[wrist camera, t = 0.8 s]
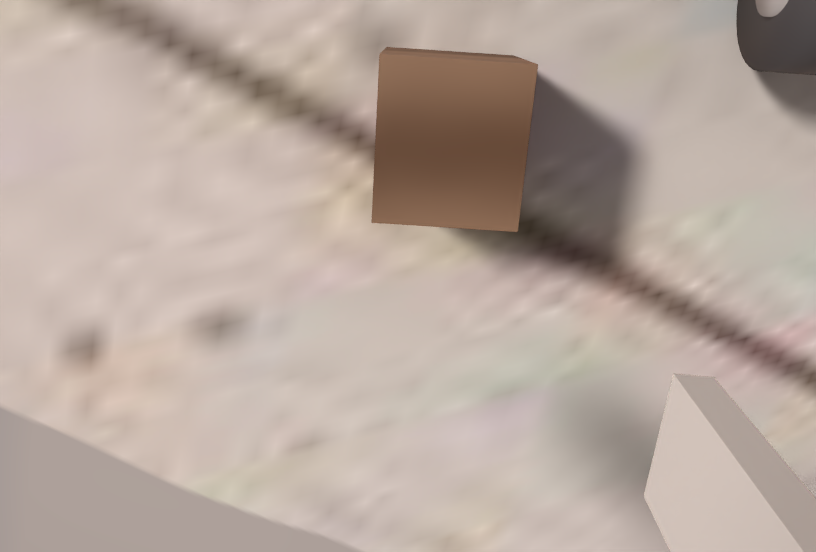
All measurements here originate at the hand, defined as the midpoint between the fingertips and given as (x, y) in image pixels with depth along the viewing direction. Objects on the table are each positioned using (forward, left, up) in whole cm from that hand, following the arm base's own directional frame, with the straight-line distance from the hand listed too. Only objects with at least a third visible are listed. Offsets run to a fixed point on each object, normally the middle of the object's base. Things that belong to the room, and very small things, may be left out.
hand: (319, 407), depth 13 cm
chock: (-3, +3, -18) cm, 18 cm away
